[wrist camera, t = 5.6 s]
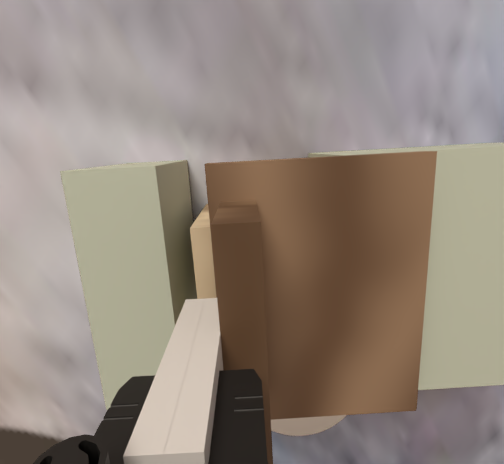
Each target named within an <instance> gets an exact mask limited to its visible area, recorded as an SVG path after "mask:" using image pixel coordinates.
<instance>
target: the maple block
mask: <svg viewBox="0 0 504 464" xmlns="http://www.w3.org/2000/svg"><path fill="white" fill-rule="evenodd" d="M190 234H191V244H192V253H193V262H194V272H195V281H196V290H197V299H205V298H216V287H215V276H214V264H213V253H212V242H211V230H210V219H209V208H208V204H206V205H205V207H204V208H203V210H202V211H201V213H200V214H199V216H198V217H197V219H196V220H195V221H194V223H193V224H192V226H191V227H190Z"/></svg>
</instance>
